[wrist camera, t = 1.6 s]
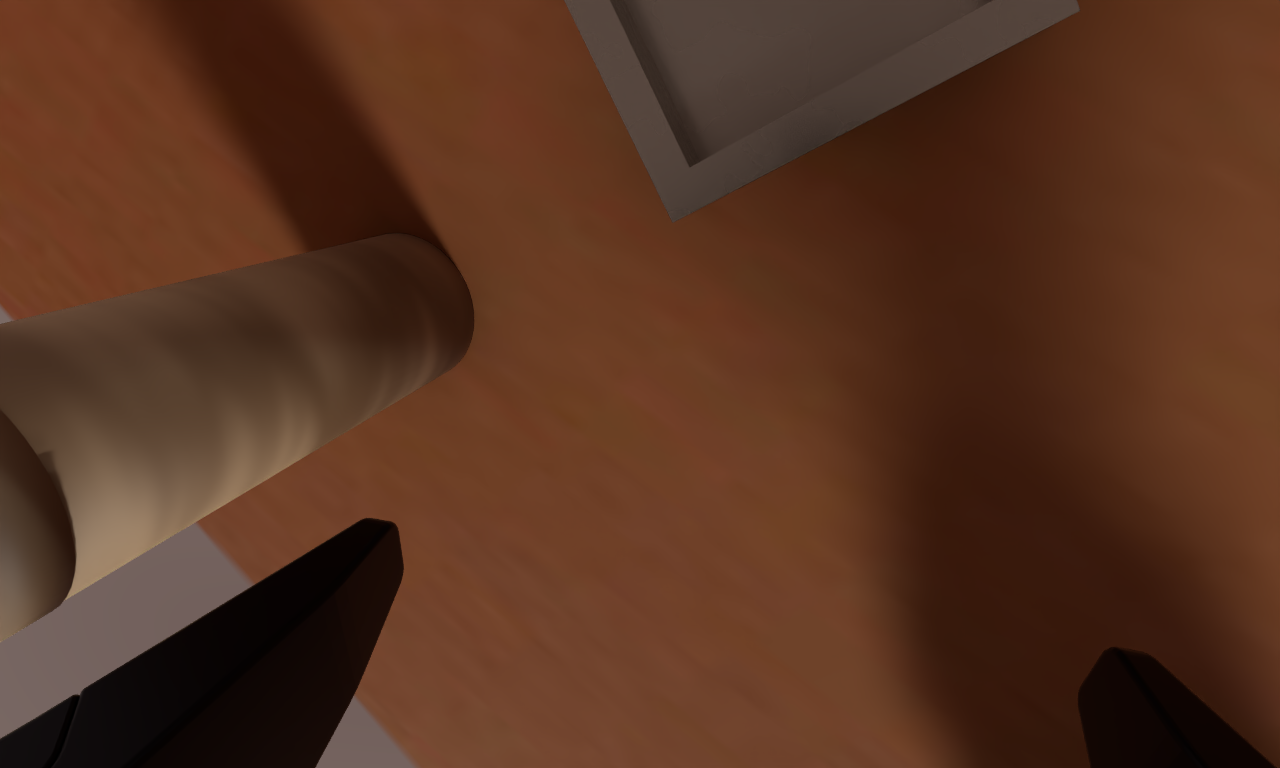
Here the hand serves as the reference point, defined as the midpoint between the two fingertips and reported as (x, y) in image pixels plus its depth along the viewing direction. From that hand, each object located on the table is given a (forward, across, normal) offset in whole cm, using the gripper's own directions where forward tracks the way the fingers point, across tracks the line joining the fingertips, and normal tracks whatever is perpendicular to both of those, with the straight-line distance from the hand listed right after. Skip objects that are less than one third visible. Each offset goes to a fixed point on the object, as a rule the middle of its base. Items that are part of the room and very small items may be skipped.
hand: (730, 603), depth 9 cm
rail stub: (+14, +11, +4) cm, 18 cm away
